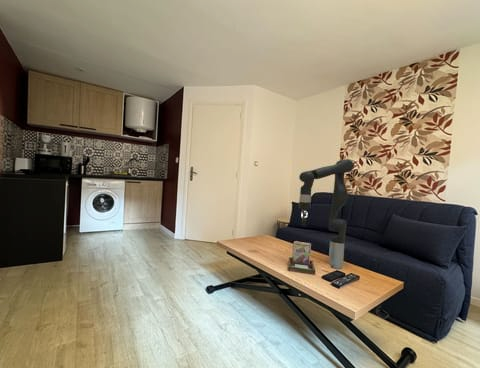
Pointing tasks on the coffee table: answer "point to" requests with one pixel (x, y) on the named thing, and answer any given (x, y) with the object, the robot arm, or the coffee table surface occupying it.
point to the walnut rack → (301, 270)
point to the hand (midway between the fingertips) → (303, 225)
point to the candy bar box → (301, 252)
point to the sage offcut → (301, 266)
